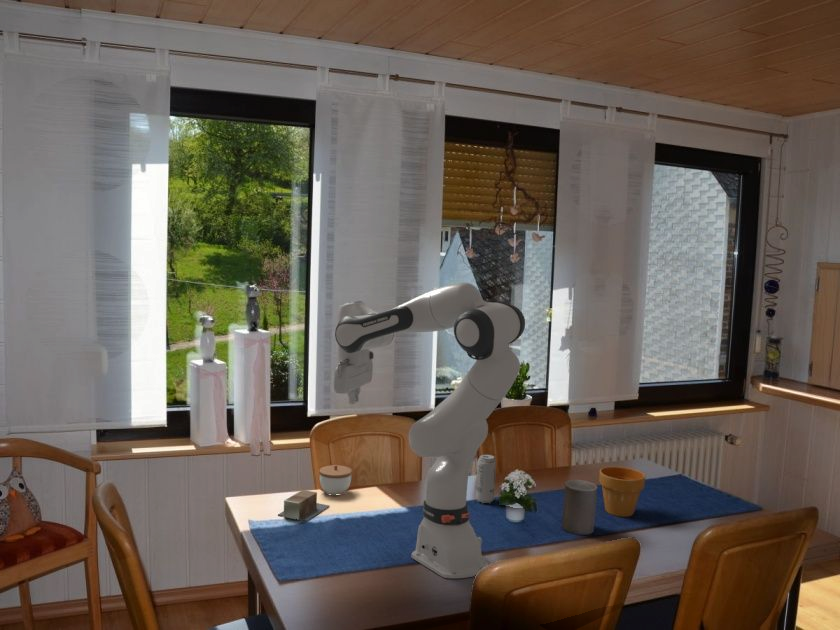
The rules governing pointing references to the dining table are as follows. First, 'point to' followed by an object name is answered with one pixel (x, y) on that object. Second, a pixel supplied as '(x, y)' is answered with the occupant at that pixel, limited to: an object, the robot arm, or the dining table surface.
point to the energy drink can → (485, 479)
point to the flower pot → (621, 489)
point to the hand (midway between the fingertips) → (354, 403)
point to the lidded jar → (335, 479)
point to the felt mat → (313, 513)
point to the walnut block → (300, 504)
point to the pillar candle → (579, 507)
